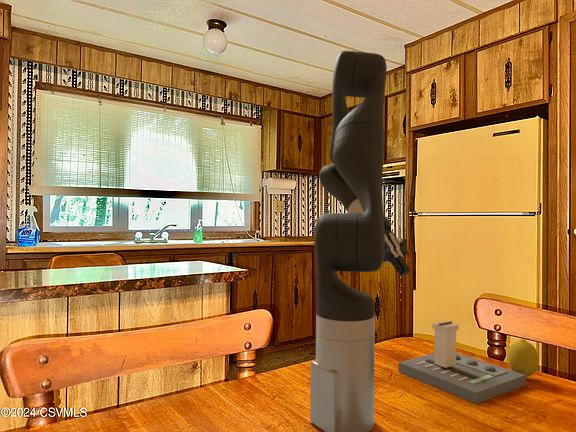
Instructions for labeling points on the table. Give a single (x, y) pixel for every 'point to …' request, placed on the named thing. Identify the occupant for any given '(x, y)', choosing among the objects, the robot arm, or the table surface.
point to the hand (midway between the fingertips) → (405, 273)
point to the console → (464, 377)
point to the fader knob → (445, 343)
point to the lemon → (523, 357)
